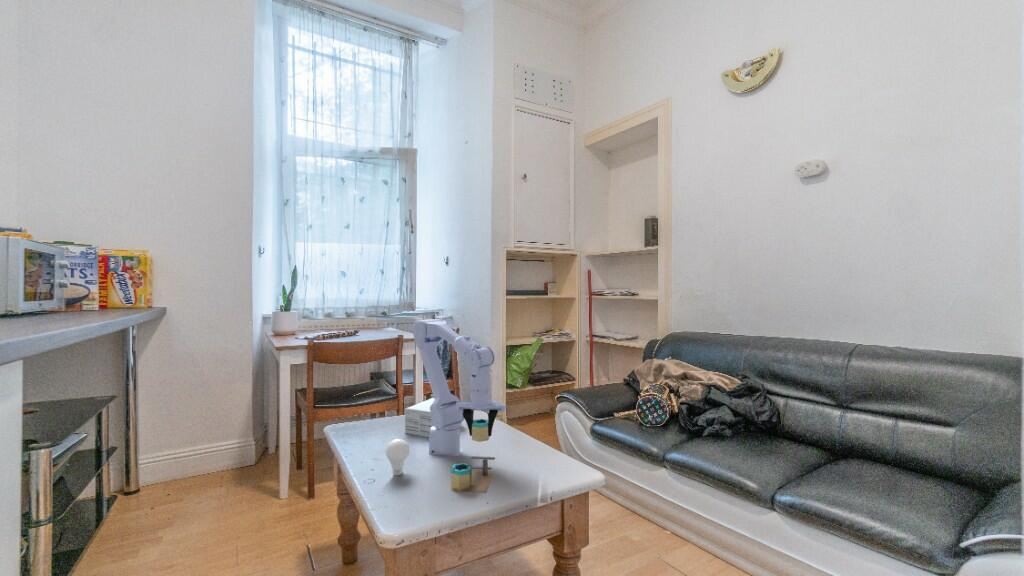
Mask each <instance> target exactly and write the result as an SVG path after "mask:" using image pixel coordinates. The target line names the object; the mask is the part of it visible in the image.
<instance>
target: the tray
mask: <svg viewBox="0 0 1024 576" xmlns="http://www.w3.org/2000/svg"><path fill="white" fill-rule="evenodd" d="M470 457H471V459H482V460H484V459H487V460H494V459H495V456H480V455H479V456H477V455H476V456H475V455H472V456H470ZM491 469H492V467H491V466H488V470H491ZM472 470H483V465H482V466H481V465H480V466H477V465H472Z"/></svg>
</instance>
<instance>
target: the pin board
mask: <svg viewBox="0 0 1024 576" xmlns="http://www.w3.org/2000/svg"><path fill="white" fill-rule="evenodd" d="M488 460H489V459H482V466H483V469H472V485H471V487H470V489H468V490H463V491H457V490H454V489H452V488H451V492H462V493H483V494H484V493H487V492H488V489H489V487H490V486H489V485H490V484H491V480H492V478H493V474H494V470H491V469H488V467H489V465H488V462H489V461H488Z"/></svg>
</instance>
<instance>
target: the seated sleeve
mask: <svg viewBox="0 0 1024 576" xmlns="http://www.w3.org/2000/svg"><path fill="white" fill-rule="evenodd" d="M472 466H473V465H471V464H469V463H465V462H461V463H455V464H452V466H451V468H450V471H451V472H450V482H451V484H450V485H451V487H450V488H451V490H452V489H454V490H457V491H456V492H459V491H463V490H468V489H470V487H471V485H472V470H473V469H472Z"/></svg>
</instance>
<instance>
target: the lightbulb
mask: <svg viewBox="0 0 1024 576" xmlns="http://www.w3.org/2000/svg"><path fill="white" fill-rule="evenodd" d="M409 453H410V445H409V444H408V442H407V441H406V440H405V439H403V438H395V439H392V440H391V441H389V442H388V443H387V445H386V447H385V456H386V458H387V460H388V461H389V463H390V465H391V468H392V477H395V476H400V475H402V474H403V472H404V471H403V470H404V469H403V468H404V464H405V461H406V459H407V458H408V456H409Z"/></svg>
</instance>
